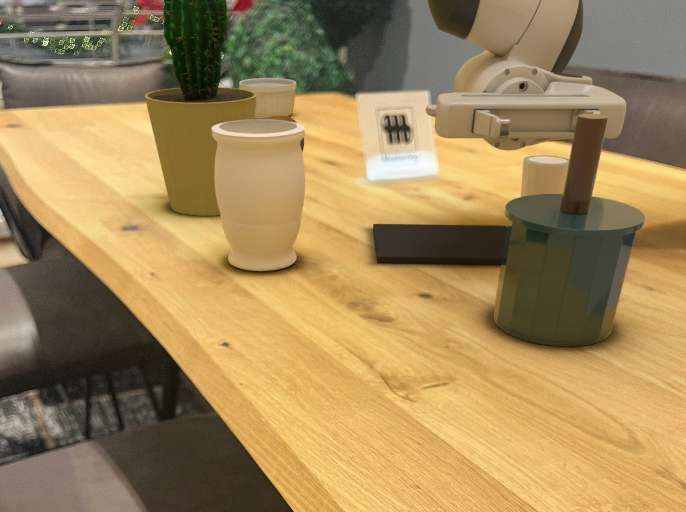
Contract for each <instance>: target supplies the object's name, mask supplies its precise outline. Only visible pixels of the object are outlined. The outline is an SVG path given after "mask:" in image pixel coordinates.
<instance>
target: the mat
mask: <svg viewBox="0 0 686 512" xmlns="http://www.w3.org/2000/svg"><path fill="white" fill-rule="evenodd" d="M506 228H507V225H494V224H493V225H491V224H489V225H488V224H487V225H486V224H485V225H484V224H483V225H482V224H427V223H425V224H423V223H422V224H419V223H417V224H416V223H415V224H414V223H413V224H412V223H373V224H372V231H373V239H374V247H375V255H376V262H377V264H428V265H429V264H430V265H431V264H432V265H434V264H435V265H436V264H437V265H439V264H440V265H493V266H494V265H495V266H496V265H498V266H499V265H500V266H501V261H502V254H503V248H504V241H505V235H506Z"/></svg>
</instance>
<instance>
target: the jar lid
mask: <svg viewBox="0 0 686 512" xmlns="http://www.w3.org/2000/svg"><path fill="white" fill-rule="evenodd" d="M607 122H608V117H607V116H605V115H599V114H580V115H578V116H577V121H576V127H575V132H574V137H573V139H572V142H571V143H572V144H571V148H570V152H569V153H570V154H569V158H568V159H569V163H568V169H567V174H566V179H565V185H564V190H563V194H538V195H529V196H523V197H521V196H520V197H516V198H513V199H510V200H509V201H508V202H507V203H506V204H505V209H504V215H505V217H506V218H507V220H508V219H509V220H510V221H512V222H514V223H516V224H518V225H520V226H523V227H526V228H529V229H533V230H536V231H541V232H546V233H551V234H558V235H565V236H577V237H611V236H619V235H625V234H630V233H633V232H636V233H637V232H638V231H640V230H641V229H643V227H644V225H645V222H646V216H645V214H644V213H643V212H642V211H641V210H640V209H639V208H636V207H634V206H632V205H629V204H627V203H624V202H621V201H617V200H613V199H609V198H604V197H598V196H593V192H594V188H595V184H596V180H597V174H598V169H599V165H600V160H601V154H602V151H603V147H604V146H603V145H604V141H605V138H604V136H605V132H606V127H607Z"/></svg>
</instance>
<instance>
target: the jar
mask: <svg viewBox="0 0 686 512" xmlns="http://www.w3.org/2000/svg"><path fill="white" fill-rule="evenodd" d="M305 129H306V128H305V126H304V125H303V124H301V123H298V122H297V123H294V122H289V121H283V120H272V119H247V120H236V121H230V122H224V123H220V124H217V125H215V126H213V127H212V136H213V138H214V139H215V140H216V141H217V144H218V146H217V150H216V156H215V171H214V178H215V191H216V198H217V203H218V207H219V211H220V214H221V215H220V222H221V226H222V230H223V233H224V236H225V239H226V240H227V243H228V245H229V247H231V250H230V251H229V254H228V256H227V260H228V263H229V264H230V265H232V266H234V267H235V268H238V269H240V270H244V271H252V272H269V271H277V270H281V269H285V268H288V267H290V266H292V265H293V264H295V262H296V261H297V253H296V251H295V249H294V248H293V247H294V245H295V244H296V240H297V238H298V236H299V232H300V229H301V221H302V214H303V210H304V209H303V208H304V204H305V203H304V202H305V193H306V169H305V160H304V155H303V152H302V150H301V146H300V141H301V140H302V139H303V137H304V138H305V135H306V131H305Z"/></svg>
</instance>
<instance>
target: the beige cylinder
mask: <svg viewBox="0 0 686 512" xmlns="http://www.w3.org/2000/svg"><path fill="white" fill-rule="evenodd" d="M568 163H569V158H568V157H564V156H563V157H562V156H557V155H546V154H545V155H544V154H542V155H529V156H525V157H524V158H523V159H522V173H521V186H520V187H521V190H520V197H523V196H529V195H538V194H563V190H564V185H565V179H566V174H567V169H568Z"/></svg>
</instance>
